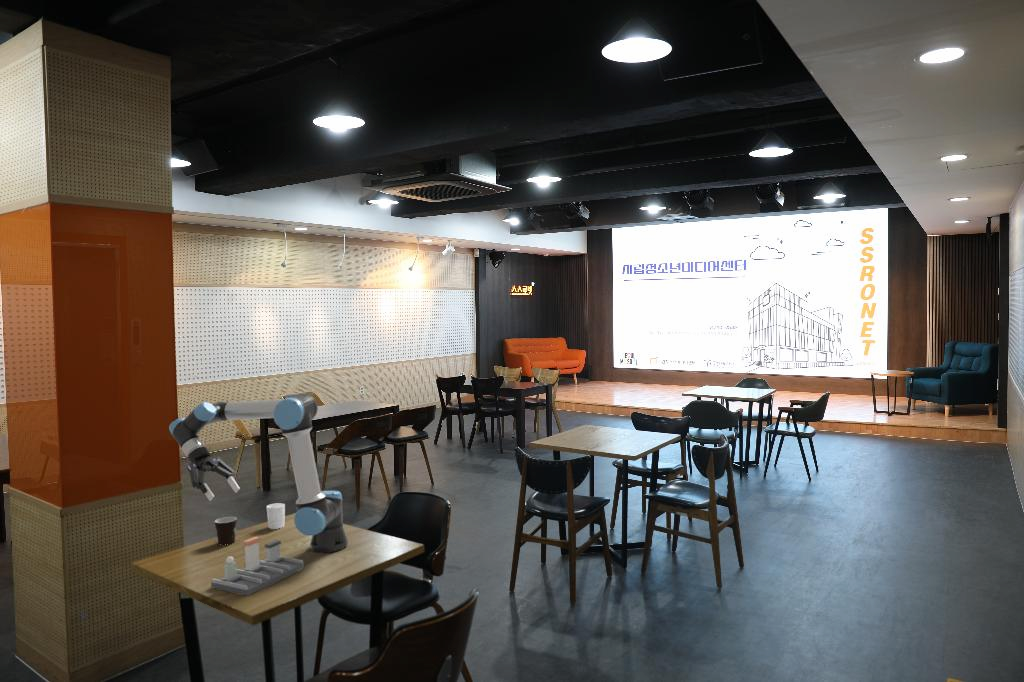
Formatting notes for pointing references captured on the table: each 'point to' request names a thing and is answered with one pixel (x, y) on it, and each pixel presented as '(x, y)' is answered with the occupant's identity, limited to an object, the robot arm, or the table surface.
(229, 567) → the sage knob slider
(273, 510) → the white cup
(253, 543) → the white tall block
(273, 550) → the grey slider
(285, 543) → the table surface
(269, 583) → the grey slotted tray
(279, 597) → the table surface
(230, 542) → the coffee mug
